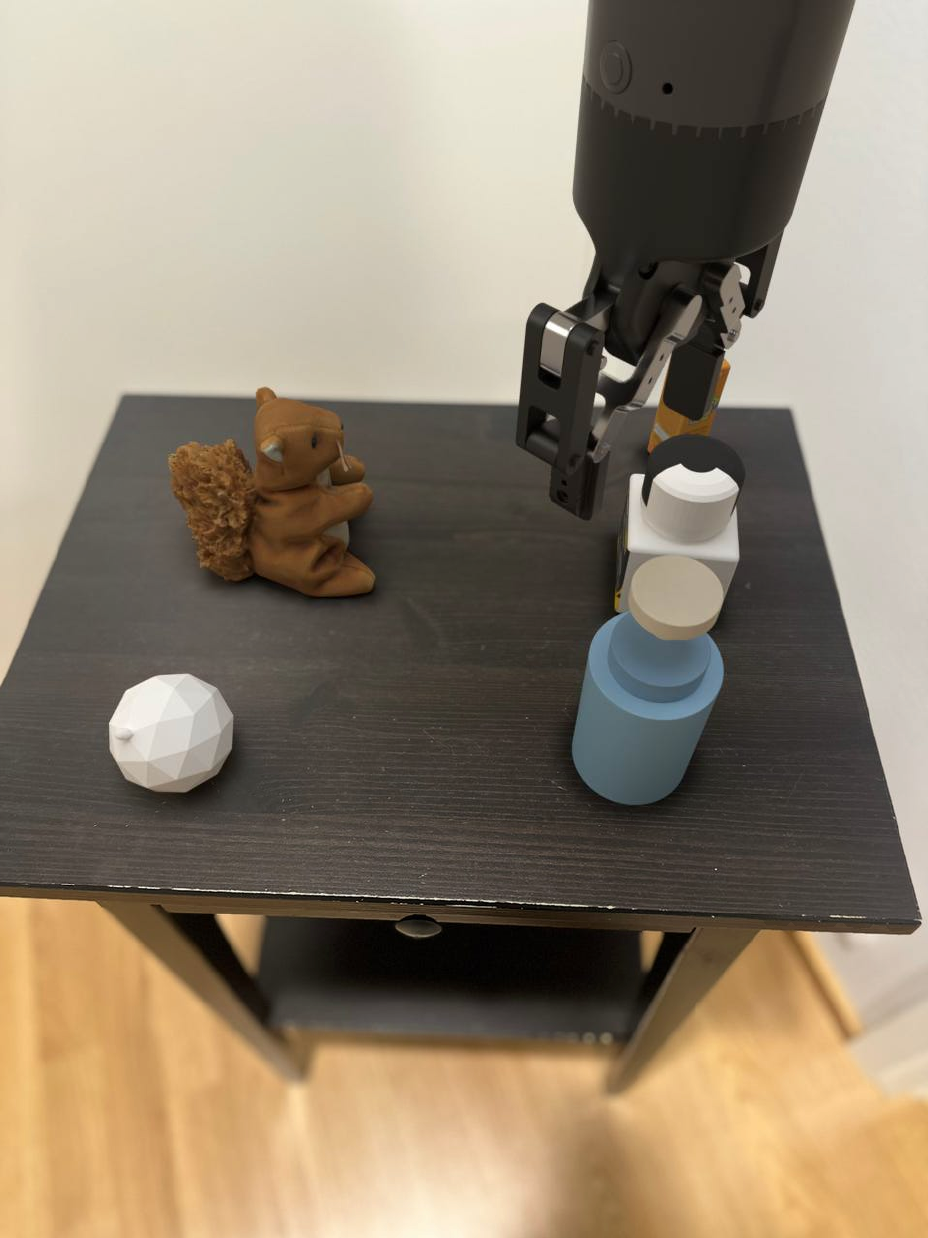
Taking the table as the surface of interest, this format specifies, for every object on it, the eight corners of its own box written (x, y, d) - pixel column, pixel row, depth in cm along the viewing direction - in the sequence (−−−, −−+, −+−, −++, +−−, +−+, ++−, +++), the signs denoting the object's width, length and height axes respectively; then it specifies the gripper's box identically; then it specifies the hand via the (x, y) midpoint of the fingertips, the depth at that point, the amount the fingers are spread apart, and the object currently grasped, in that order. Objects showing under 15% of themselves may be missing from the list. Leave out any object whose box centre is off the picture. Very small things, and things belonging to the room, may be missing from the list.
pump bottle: (674, 701, 57) (714, 587, 48) (696, 802, 53) (745, 700, 43) (565, 706, 57) (583, 593, 47) (579, 808, 53) (602, 707, 43)
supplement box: (669, 478, 70) (694, 375, 62) (645, 451, 71) (667, 348, 63) (703, 465, 70) (733, 362, 62) (679, 439, 72) (705, 336, 64)
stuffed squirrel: (384, 595, 63) (365, 460, 52) (187, 615, 62) (127, 482, 51) (376, 497, 69) (357, 357, 58) (196, 514, 68) (144, 376, 57)
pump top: (699, 592, 46) (713, 552, 43) (718, 662, 43) (733, 624, 40) (616, 596, 45) (624, 556, 43) (629, 666, 43) (639, 628, 40)
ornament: (259, 788, 54) (166, 799, 46) (168, 786, 57) (66, 796, 50) (261, 674, 55) (169, 668, 47) (170, 679, 58) (71, 673, 50)
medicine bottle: (617, 539, 66) (641, 415, 56) (713, 548, 65) (754, 425, 55) (613, 614, 62) (639, 494, 52) (716, 625, 61) (761, 505, 51)
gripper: (680, 190, 22) (606, 591, 35) (926, 20, 28) (785, 414, 41) (459, 105, 25) (467, 503, 38) (725, -32, 31) (653, 350, 44)
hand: (632, 456), depth 39 cm, fingers open, 8 cm apart
